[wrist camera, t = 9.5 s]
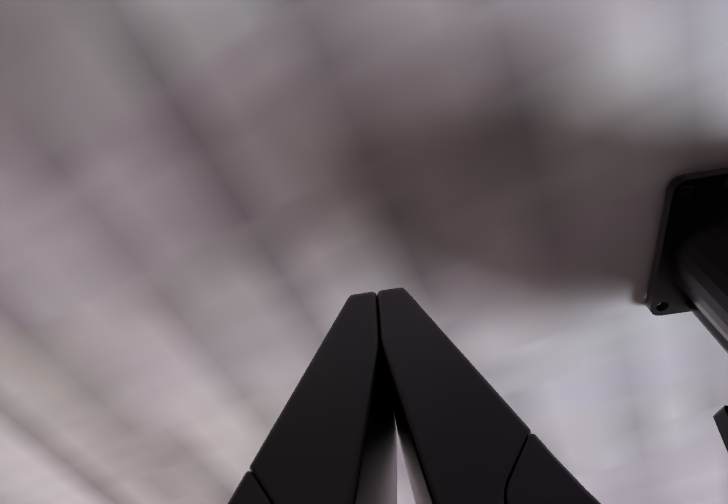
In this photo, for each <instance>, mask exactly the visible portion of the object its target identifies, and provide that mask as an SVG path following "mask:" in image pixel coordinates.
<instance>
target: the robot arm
mask: <svg viewBox="0 0 728 504" xmlns="http://www.w3.org/2000/svg"><path fill="white" fill-rule="evenodd" d="M685 186H688V187H687V189H686V190H685V191H683V192H681V193H680V191H681V189H682V188H683V187H685ZM659 303H661V304H659ZM658 304H659V305H658ZM646 306H647V307H648V309H649V310H650V311H651V312H652V314H654V315H667V314H674V313H681V312H689V311H692V312H693V313H694V315H695V316H696V317H697V318H698V319H699V320H700V321H701V323H702V324H703V325H704V326H705V327H706V328H707V330H708V331H709V332H710V333H711V334H712V335H713V337H714V338H715V339H716V340H717V341H718V342H719V343H720V345H721V346H722V347H723V348H724V349H725V350H726V352H727V353H728V168H723V169H717V170H710V171H704V172H697V173H691V174H684V175H681V176H678V177H676V178H675V179H673V180H672V181H671V182H670V184H669V185H668V188H667V192H666V198H665V203H664V208H663V214H662V219H661V224H660V230H659V235H658V240H657V246H656V251H655V256H654V262H653V267H652V272H651V278H650V283H649V288H648V294H647V299H646ZM713 417H714V420H715V422H716V425H717V427H718V430H719V432H720V434H721V437H722V439H723V442H724V444H725V447H726V449H727V451H728V406H726V405H725V406H724V407H723V408H722V409H720V410H719V411H718V412H717V413H716V414H715V415H714V416H713ZM395 420H396V423H395ZM396 426H397V431H398V436H399V440H400V444H401V449H402V453H403V456H404V460H405V464H406V468H407V472H408V476H409V479H410V483H411V487H412V491H413V495H414V499H415V503H416V504H601V503H600V502H599V501H598V500H597V499H596V498H594V497H593V496H592V495H591V494H590V493H589V492H588V491H587V490H586V489H585V488H584V487H583V486H582V485H581V484H580V483H579V482H578V481H577V479H576V478H575V477H574V476H573V475H572V474H571V473H570V472H569V471H568V470H567V469H566V468H565V467H564V466H563V465H562V464H561V463H560V462H559V461H558V460H557V458H556V457H555V456H554V455H553V454H552V453H551V452H550V451H549V450H548V448H547V447H546V446H545V445H544V444H543V443H542V442H541V441H540V440H539V438H538V437H537V436H536V435H535V434H531V431H530V429H529V428H528V426H527V425H526V424H525V423H524V422H523V421H522V420H521V419H520V418H519V416H518V415H517V414H516V413H515V412H514V411H513V410H512V409H511V407H510V406H509V405H508V404H507V403H506V402H505V401H504V400H503V399H502V397H501V396H500V395H499V394H498V393H497V392H496V391H495V390H494V388H493V387H492V386H491V385H490V384H489V383H488V382H487V381H486V379H485V378H484V377H483V376H482V375H481V374H480V373H479V372H478V371H477V369H476V368H475V367H474V366H473V365H472V364H471V363H470V362H469V360H468V359H467V358H466V357H465V356H464V355H463V354H462V353H461V351H460V350H459V349H458V348H457V347H456V346H455V345H454V344H453V343H452V341H451V340H450V339H449V338H448V337H447V336H446V335H445V334H444V332H443V331H442V330H441V329H440V328H439V327H438V326H437V325H436V323H435V322H434V321H433V320H432V319H431V318H430V317H429V316H428V315H427V313H426V312H425V311H424V310H423V309H422V308H421V307H420V306H419V304H418V303H417V302H416V301H415V300H414V299H413V298H412V297H411V296H410V294H409V293H408V292H407V291H406V290H405V289H403V288H395V289H388V290H382V291H379V292H378V294H377V295H376V293H374V292H368V293H361V294H354V295H351V296H350V297H349V298H348V299H347V301H346V303H345V304H344V306H343V308H342V310H341V311H340V313H339V315H338V316H337V318H336V320H335V322H334V323H333V325H332V327H331V328H330V330H329V332H328V334H327V335H326V337H325V339H324V340H323V342H322V344H321V346H320V347H319V349H318V351H317V352H316V354H315V356H314V358H313V359H312V361H311V363H310V364H309V366H308V368H307V370H306V371H305V373H304V375H303V376H302V378H301V380H300V382H299V383H298V385H297V387H296V388H295V390H294V392H293V394H292V395H291V397H290V399H289V400H288V402H287V404H286V406H285V407H284V409H283V411H282V412H281V414H280V416H279V418H278V419H277V421H276V423H275V424H274V426H273V428H272V429H271V431H270V433H269V435H268V436H267V438H266V440H265V441H264V443H263V445H262V447H261V448H260V450H259V452H258V453H257V455H256V457H255V459H254V460H253V462H252V464H251V465H250V471H248V472H246V473H245V475H244V477H243V479H242V480H241V482H240V484H239V485H238V487H237V489H236V491H235V492H234V494H233V496H232V497H231V499H230V501H229V502H228V504H397V434H396Z"/></svg>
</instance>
